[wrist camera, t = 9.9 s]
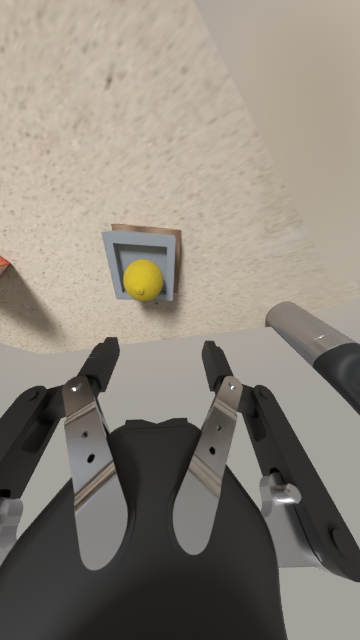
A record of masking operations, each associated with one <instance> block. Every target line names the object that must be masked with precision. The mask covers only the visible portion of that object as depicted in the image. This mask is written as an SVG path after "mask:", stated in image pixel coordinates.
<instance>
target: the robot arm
mask: <svg viewBox="0 0 360 640" xmlns="http://www.w3.org/2000/svg"><path fill="white" fill-rule="evenodd" d="M266 321H267V323H268V324H269V325H270V326H271V327H272V328H273V329H274V330H275V331H276V332H277V333H278V334H279V335H280V336H281V337H282V338H283V339H284V340H285V341H286V342H287V343H288V344H289V345H290V346H291V347H292V348H293V349H294V350H296V352H297V353H298V354H299V355H301V356H302V357H303V358H304V359H305V360H306V361H307V362H308V363H309V364H310V365H311V366H312V367H313V368H314V369H315V370H316V371H317V372H318V373H319V374H320V375H321V376H322V377H323V378H324V379H325V380H326V381H327V382H328V383H330V385H331V386H332V387H333V388H334V389H335V390H336V391H337V392H339V394H340V395H341V396H342V397H343V398H344V399H345V400H346V401H347V402H348V403H349V404H350V405H351V406H352V407H353V409H354V410H355V411H356V412H357V413H358V414H359V415H360V344H359V343H357V342H355V341H354V340H352V339H350V338H349V337H347V336H346V335H344V334H342V333H341V332H339V331H337V330H336V329H334V328H333V327H331V326H329V325H328V324H326V323H324V322H323V321H321V320H320V319H318V318H317V317H315V316H313V315H312V314H310V313H309V312H307V311H305V310H304V309H302V308H301V307H299V306H298V305H296V304H294V303H292V302H283V303H281V304H278V305H277V306H275V307H274V308H273V309H272V310H271V311H270V312H269V313H268V315H267V318H266ZM119 353H120V349H119V344H118V340H117V337H107V338H106V339H105V341H104V343H99V344H98V345H97V346H95V347H94V349H93V351H92V352H91V354H90V355H89V358H88V359H87V360H86V362H85V364H84V365H83V367H82V368H81V370H80V372H79V373H78V375H77V376H76V377H73V378H72V379H70V380H68V381H67V382H66V383H65V384H64V385H61V386H57V387H54V388H50V389H46V388H45V387H44V386H35V387H32V388H30V389H28V390H26V391H25V392H23V393H22V394H21V395H20V396H19V397H18V398H17V399H16V400H15V401H14V403H13V404H12V405H11V406H10V407H9V409H8V410H7V411H6V412H5V414H4V415H3V416H2V417H1V418H0V640H288V639H287V634H286V629H285V624H284V618H283V611H282V605H281V596H280V584H279V569H278V568H285V567H311V566H313V567H316V568H319V569H322V570H324V571H327V572H330V573H333V574H336V575H338V576H341V577H344V578H347V579H349V580H352V581H355V582H360V550H359V547H358V545H357V543H356V542H355V540H354V538H353V536H352V534H351V533H350V531H349V529H348V527H347V525H346V524H345V522H344V520H343V518H342V516H341V515H340V513H339V511H338V509H337V508H336V506H335V504H334V502H333V500H332V499H331V497H330V495H329V494H328V492H327V490H326V488H325V486H324V484H323V483H322V481H321V479H320V477H319V475H318V474H317V472H316V470H315V468H314V467H313V465H312V463H311V461H310V459H309V458H308V456H307V454H306V452H305V451H304V449H303V447H302V445H301V443H300V442H299V440H298V438H297V436H296V434H295V433H294V431H293V429H292V427H291V425H290V424H289V422H288V420H287V418H286V417H285V415H284V413H283V411H282V410H281V408H280V406H279V404H278V402H277V400H276V399H275V397H274V395H273V394H272V392H271V391H270V390H269V389H268V388H266V387H265V386H262V385H256V386H255V387H254V388H252V387H249V386H247V385H243V384H241V382H240V381H239V380H238V379H237V378H235V377H234V376H233V373H232V371H231V369H230V366H229V364H228V362H227V359H226V357H225V355H224V352H223V350H222V349H221V348H220V347H217V346H216V345H215V343H214V341H205V343H204V347H203V350H202V360H203V364H204V368H205V371H206V376H207V380H208V384H209V388H210V391H215V398H214V400H213V402H212V405H211V407H210V409H209V411H208V414H207V416H206V418H205V421H204V423H203V425H202V427H201V430H200V429H199V428H197V427H196V426H195V425H193V424H191V423H189V422H187V418H172V419H170V420H167V421H164V422H161V423H158V424H156V423H152V422H149V421H145V420H126V422H125V425H123V426H121V427H119V428H117V429H115V430H114V431H113V432H111V433H110V430H109V428H108V425H107V423H106V421H105V418H104V415H103V412H102V410H101V407H100V404H99V401H98V398H97V397H98V395H99V393H100V392H105V390H106V388H107V385H108V383H109V380H110V378H111V375H112V372H113V370H114V367H115V365H116V362H117V360H118V357H119ZM236 412H240V413H242V415H243V418H244V421H245V424H246V427H247V430H248V433H249V436H250V439H251V442H252V445H253V448H254V451H255V454H256V457H257V460H258V463H259V466H260V469H261V472H262V475H263V477H262V478H261V480H260V493H261V498H262V509H261V512H260V510H259V508H258V507H257V506H256V504H255V503H254V501H253V500H252V499H251V497H250V496H249V495H248V493H247V492H246V490H245V489H244V488H243V487H242V485H241V484H240V482H239V481H238V480H237V478H236V477H235V476H234V474H233V473H232V471H231V470H230V469H229V467H228V466H227V465H226V462H227V457H228V454H229V450H230V445H231V442H232V438H233V433H234V429H235V426H236V422H237V415H236ZM63 417H66V418H67V419H66V421H65V422H64V429H65V435H66V442H67V448H68V454H69V461H70V468H71V474H72V477H71V478H70V480H69V481H68V482H67V483H66V484H65V485H64V486H63V488H62V489H61V490H60V491H59V492H58V493H57V494H56V496H55V497H54V498H53V499H52V500H51V501H50V503H49V504H48V505H47V506H46V507H45V508H44V510H43V511H42V512H41V513H40V514H39V515H38V516H37V518H36V519H35V520H34V521H33V522H32V523H31V524H30V526H29V527H28V528H27V529H26V530H25V532H24V533H23V534H22V535H21V536H20V538H19V539H18V540H17V539H16V532H17V527H18V524H19V522H20V518H21V516H22V512H23V503H22V501H21V500H20V498H21V496H22V494H23V492H24V490H25V488H26V486H27V484H28V482H29V480H30V478H31V476H32V474H33V472H34V470H35V468H36V466H37V464H38V462H39V460H40V458H41V456H42V454H43V452H44V450H45V448H46V447H47V445H48V443H49V441H50V439H51V437H52V435H53V433H54V431H55V429H56V427H57V425H58V423H59V421H60V419H61V418H63Z"/></svg>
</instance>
